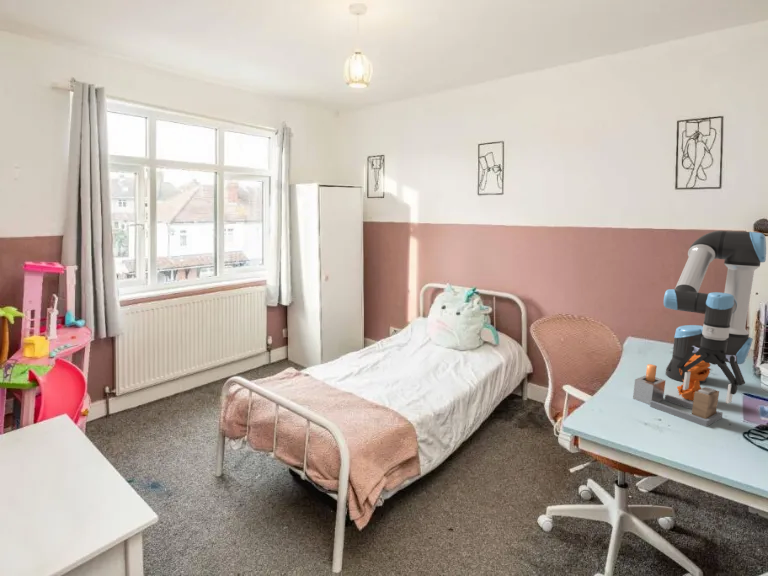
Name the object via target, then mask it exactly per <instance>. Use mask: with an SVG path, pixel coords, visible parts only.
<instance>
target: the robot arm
mask: <svg viewBox="0 0 768 576" xmlns="http://www.w3.org/2000/svg"><path fill="white" fill-rule="evenodd" d="M687 256H688V258H687V260H686V262H685V265H684V267H683V269H682V272H681V274H680V277H679V279H678V280H677V282H676V286H675V287H674V288H673V289H671V288H669V289H666V291H665V292H664V296H663V306H664V308H666V309H669V310H673V311H674V310H675V311H680V312H687V313H688V312H689V313H697V314H702V315H704V318H703V325H698V324H689V325H688V324H687V325H679V326H678V327H676V329H675V334H674V336H673V337H674V339H673V340H674V341H673V348H672V355H671V359H670V361H669V363H668V364H667V366H666V368H665V375H666V376H667V377H668V378H670V379H673V380H675V381H679V382H682V385H683V390H686V389H688V388H689V381H690V374H691V372H690V371H688V370H689V369H691V368H692V367H694V366H695V365H697V364H698V363H700V362H701V361H705V362H706V363H710V365H711V364H712V365H714V366H715V365H717V367H718V368H720V369H721V371H722V372H723V374H724V375H725V377H726V378H727V380H728V381H729V382H730V383H729V384H728V385H727V391H726V397H725V404H726V403H727V404H730V403H732V401H733V395H735V394H737V391H738V386H742V385H745V383H746V381H745V379H744V378H745V377H744V376H743V373H742V370H741V368H740V366H739V365H743V364H745V363H746V360H747V358H748V356H749V352H750V349H751V347H752V343H753V338H752V337H751V336H750V333H749V331H748V330H747V329H746V326H747V319H748V313H749V312H748V311H749V306H750V301H751V293H752V287H753V283H754V282H753V281H754V275H755V270H758V269H759V268H760V266H761V263H765V262H766V260H767V240H766V236H765V234H764V233H763V232H755V231H735V230H732V231H731V230H714V231H711V232H708V233H706V234H704V235H702V236H700V237H699V238H697V239H696V240H695V241H694V242H692V244H691V245H690V247H689V249H688V251H687ZM715 259H717V260H724V262H723V263H724V264H723V265H725V267H726V268H727V272H726V278H725V279H726V280H725V286H724V291H723V292H719V291H715V292H714V291H713V292H709V293H705V292H699V291H700V288H701V286H702V284H703V281H704V279H705V276H706V273H707V271H708V268H709V266H710V263H712V262H713V261H714V260H715ZM749 336H750V337H749ZM694 354H696V355H697V356H698V355H700V357H699V358H697V359H696V360H695V361H693V362H692V363H690V364H689V365H687V366H686V367H685V366H684V365H685V364H686V363H687V362H688V361H689V359H690V358H691V357H692V356H694ZM727 363H728V364H729V365H730V367H731V369H730V368H729V367H728V365H727ZM679 369H681V370H682V371H681V370H680V372H682V375H681V374H680V372H679ZM731 370H732V371H731ZM683 380H684V382H683ZM706 381H707V378H706V379H705V380H703V381H699V382H700V384H702V383H703V384H704V383H705V382H706Z"/></svg>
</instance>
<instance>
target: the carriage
mask: <svg viewBox="0 0 768 576" xmlns="http://www.w3.org/2000/svg"><path fill="white" fill-rule="evenodd" d="M719 395H720V390H717V389H715V388H712V387H708V386H705V387H701V389H700V390H698V391H696V392H695V393H694V400H693V402H692V403H693V408H692V409H691V414H692V415H695V416H698V417H701V418H704V419H707V418H709V417H711V416H713V415H714V414H716V411H718V410H717V409H718V402H719Z"/></svg>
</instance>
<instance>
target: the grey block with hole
mask: <svg viewBox="0 0 768 576" xmlns="http://www.w3.org/2000/svg"><path fill="white" fill-rule="evenodd" d="M645 379H646V374H645V375H643V376H641V377H637V378H635V379H634V385H633V394H632V399H633V400H635V399H636V401H639V402H642V403H643V404H646V405H649V406H650V403H651V401H655V402H658V403H660V402H661V401H664V397H665V388H666V387H665V386H666V379H662V378H658V377H656V376H655V382H649V381H646V380H645Z"/></svg>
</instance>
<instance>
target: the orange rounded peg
mask: <svg viewBox="0 0 768 576" xmlns="http://www.w3.org/2000/svg"><path fill="white" fill-rule="evenodd" d="M656 374H657V365H655V364H653V363H652V364H650V363H648V364H647V365H646V371H645V375H646V379H645V380H646V381H649V382H655V377H656Z"/></svg>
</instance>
